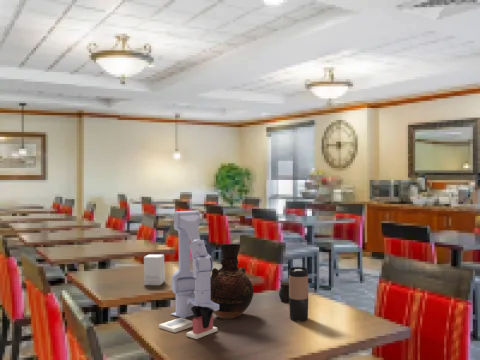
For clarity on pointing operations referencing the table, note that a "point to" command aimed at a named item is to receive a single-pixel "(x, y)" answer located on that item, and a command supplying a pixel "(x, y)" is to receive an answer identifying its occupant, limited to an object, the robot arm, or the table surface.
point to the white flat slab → (176, 325)
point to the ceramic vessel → (230, 285)
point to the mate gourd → (284, 291)
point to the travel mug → (298, 293)
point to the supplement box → (154, 269)
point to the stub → (201, 328)
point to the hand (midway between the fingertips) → (203, 326)
